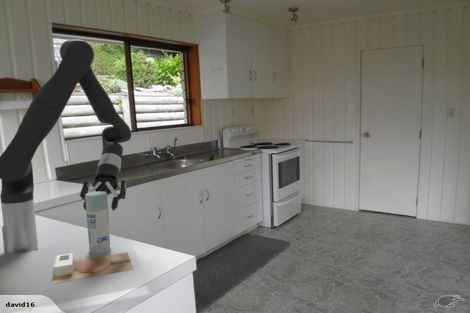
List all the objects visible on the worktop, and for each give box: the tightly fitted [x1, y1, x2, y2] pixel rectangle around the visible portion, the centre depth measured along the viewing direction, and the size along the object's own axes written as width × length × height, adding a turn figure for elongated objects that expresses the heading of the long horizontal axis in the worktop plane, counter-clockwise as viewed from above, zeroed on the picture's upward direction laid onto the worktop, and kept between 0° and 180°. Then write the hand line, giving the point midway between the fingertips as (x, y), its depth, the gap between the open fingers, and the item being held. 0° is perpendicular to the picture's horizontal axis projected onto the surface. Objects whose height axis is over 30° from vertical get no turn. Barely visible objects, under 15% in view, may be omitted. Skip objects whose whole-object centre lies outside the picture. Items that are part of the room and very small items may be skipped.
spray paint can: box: [84, 191, 111, 255], centre depth 113 cm, size 6×6×20 cm
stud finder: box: [53, 252, 75, 277], centre depth 100 cm, size 9×4×3 cm, turn 23°
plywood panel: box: [52, 251, 134, 285], centre depth 102 cm, size 20×14×2 cm
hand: (99, 209), depth 115 cm, fingers open, 8 cm apart
